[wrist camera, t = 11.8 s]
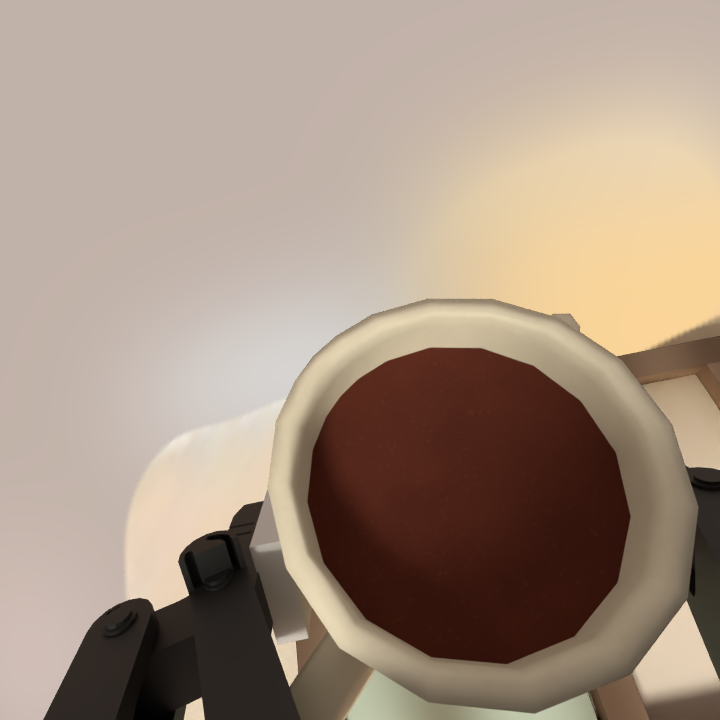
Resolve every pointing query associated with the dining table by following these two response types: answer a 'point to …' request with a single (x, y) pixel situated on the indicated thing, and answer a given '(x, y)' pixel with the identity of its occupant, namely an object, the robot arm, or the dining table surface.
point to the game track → (577, 716)
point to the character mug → (477, 509)
